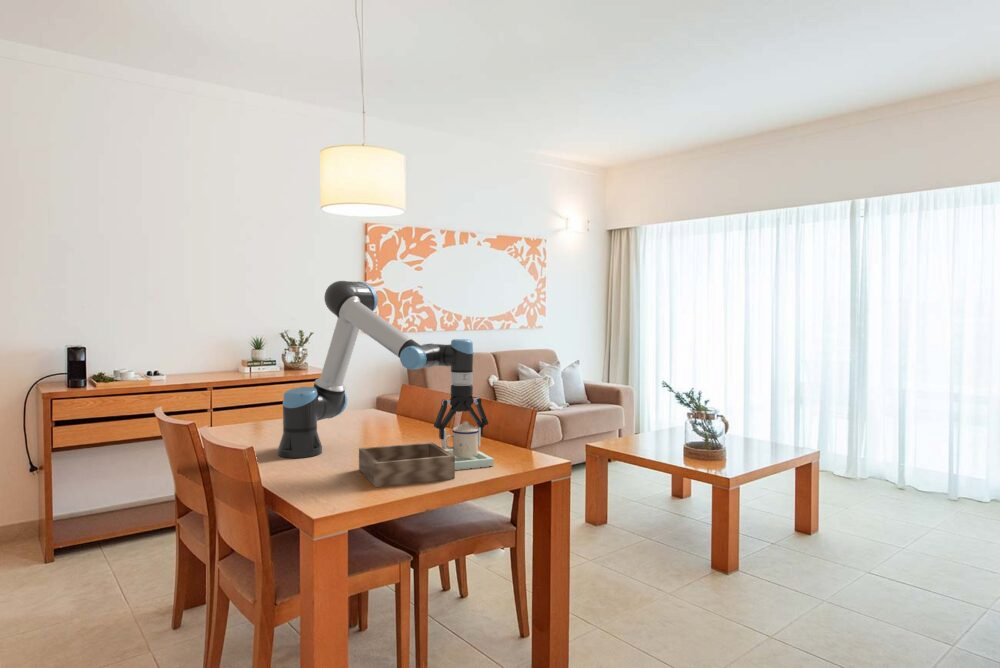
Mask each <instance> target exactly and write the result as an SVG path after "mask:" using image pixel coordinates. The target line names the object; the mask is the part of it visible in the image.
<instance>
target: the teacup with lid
mask: <svg viewBox="0 0 1000 668" xmlns="http://www.w3.org/2000/svg"><path fill="white" fill-rule="evenodd" d="M451 431H452V434H446V449H447V450H449V449H453V455H454V456H456V457H461V458H469V457H475V456H477V455H478V451H479V446H478V432H479V430H478V428H476V426H473V424H471V423H469V421H468V420H467V421H466V420H464V421H462V423H461V424H459V425H458V426H455V427H453V428H452V430H451ZM449 438H452V446H449V445H448V442H447V441H448V439H449Z"/></svg>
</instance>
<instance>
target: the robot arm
mask: <svg viewBox="0 0 1000 668" xmlns="http://www.w3.org/2000/svg"><path fill="white" fill-rule="evenodd" d="M323 299H324V303H325V307H326V308H327V310H329V311H330V312H331V313H332V314H334V316H336V317H337V320H336V324H335V328H334V329H333V333H332V337H331V340H330V344H329V348H328V351H327V354H326V357H325V360H324V363H323V367H322V370H321V375H320V377H319V378H316V379H315V380H314V383H313V386H299V387H294V388H290V389H287V390H286V391H285V392H284V394H283V396H282V397H283V399H282V429H283V433H282V436H281V439H280V442H279V444H278V448H277V455H278V456H279V457H282V458H288V459H290V458H291V459H299V458H300V459H302V458H309V457H315V456H319V455H321V454H322V453H323V445H322V442H321V439H320V436H319V433H318V421H322V420H325V419H333V418H334V417H337V416H340V415H341V414H342V413H343V412H344V411H345V409H346V408H347V405H348V397H347V393H346V386H345V384H344V380H345V377H346V374H347V372H348V368H349V365H350V361H351V358H352V355H353V352H354V351H353V350H354V347H355V345H356V341H357V338H358V336H359V331H361V332H363V333H365V335H367V336H369V337H370V338H371V339H372V340H374V341H375V342H377V343H378V344H380V345H381V346H382V347H384V348H385V349H386V350H387V351H389V352H390V353H392V354H393V355H395V356H396V357H397V358H399V361H400V364H401V365H402V366H403V367H404V368H405V369H407V370H414V371H415V370H420V369H426V368H430V367H431V368H433V367H450V383H451V385H450V398H449V399H445V398H444V399H441V404H440V405H441V406H440V409H439V411H438V413H437V415H436V419H435V421H434V423H433V427H434V428H436V429H437V430H438V431H439V432H438V438H439V440H441V448H442V449H444V450H447V447H446V436H447V433H448V432H447V429H446V428H447V426H448V424H449V423H450V421H451V420H452V419H453V417H454V415H455V414H456V413H460V412H468V414H469V416H471V418H472V419H473V420H474V422H475V423H476V426H475V427H476V428H478V430H479V432H478V447H481V444H482V443H481V437H483V435H484V427H485V426H488V425H489V421H488V418H487V416H486V413H485V411H484V408H483V405H482V399H481V398H480V397H475V398H474V397H473V394H474V393H473V389H474V386H473V383H474V381H473V380H474V378H473V377H474V376H473V375H474V370H473V369H474V367H473V366H474V343H473V341H472V340H471V339H467V338H466V339H465V338H462V339H461V338H454V339H451V342H450V344H442V343H441V344H439V343H423V344H419V343H418V342H417V341H415V340H413V339H412V338H411V337H409V336H408V335H407V334H405V333H404V332H403V331H401V330H399V328H397V327H396V326H395V325H392V323H390V322H389V321H387V320H385V319H384V318H383V317H381V316H380V315H378V314H377V313H376V312H374V311H375V310H376V308H377V306H378V303H379V302H378V301H379V299H378V294H377V293H376V290H375V288H374V287H373V286H372V285H370V284H369V283H367V282H364V281H363V282H362V281H346V280H337V281H335V282H332V283H330V285H329V286H328V287H327V288H326V290H325V292H324V298H323ZM473 404H474V405H475V407H476V409H477V411H478V412H477V413H478V415H479V416H478V415H477V413H476V412H475V411H474V408H473V407H472V406H473ZM449 405H451V407H450V409H449V411H448V412H447V413H446V411H447V408H448V406H449ZM445 413H446V415H445ZM444 416H445V417H444ZM479 417H480V418H479Z"/></svg>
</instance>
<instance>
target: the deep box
mask: <svg viewBox="0 0 1000 668" xmlns="http://www.w3.org/2000/svg"><path fill="white" fill-rule="evenodd" d="M445 450H446V449H443V448H442V446H441V447H440V446H439V445H438V444H436V443H434V442H433V441H432V442H421V443H409V444H398V445H397V444H396V445H384V446H371V447H359V448H358V471H359V472H360V473H361V472H362V473H363V474H364V475H363V474H362V473H361V474H362V475H363V476H364V477H365V478H366V480H367V481H368V482H370V483H372V484H373V485H374V486H373V485H372V484H371V485H372V486H373V487H374V488H380V487H390V486H399V485H407V484H416V483H425V482H435V481H445V480H452V479H453V480H454V478H456V477H455V475H456V474H455V473H456V470H455V456H454V455H452V454H450V453H449V452H447V451H445Z"/></svg>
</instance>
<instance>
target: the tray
mask: <svg viewBox="0 0 1000 668" xmlns="http://www.w3.org/2000/svg"><path fill="white" fill-rule="evenodd" d="M444 450H445V451H447V452H449V453H450V454H452V455H453V449H444ZM494 461H495V459H494V458H493V457H491V456H489V455H487V454H485V453H484V452H482V451H480V450H478V455H477V456H475V457H469V458H461V457H456V456H455V471H461V469H462V470H468V469H469V470H470V468H472V469H479V468H480V467H482V468H490V467H489V466H491V467H494V466H495V465H494V463H495V462H494ZM480 469H481V468H480Z"/></svg>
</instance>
